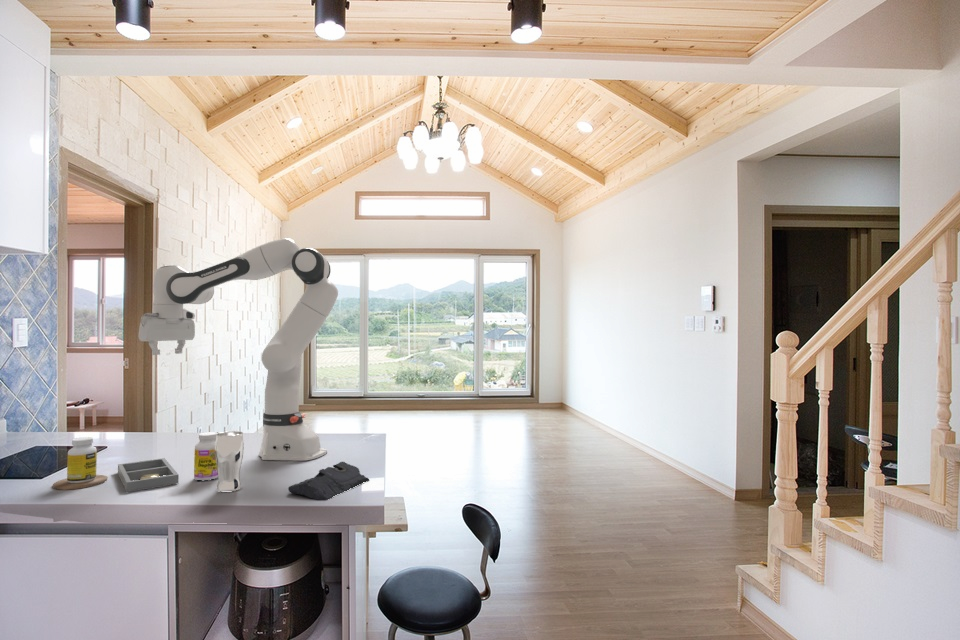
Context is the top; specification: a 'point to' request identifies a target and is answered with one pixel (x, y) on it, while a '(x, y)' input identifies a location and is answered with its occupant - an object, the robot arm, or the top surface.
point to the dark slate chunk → (330, 482)
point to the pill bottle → (81, 461)
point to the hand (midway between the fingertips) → (167, 354)
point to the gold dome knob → (149, 476)
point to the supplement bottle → (205, 457)
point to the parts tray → (144, 468)
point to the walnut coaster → (67, 486)
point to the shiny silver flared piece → (229, 459)
